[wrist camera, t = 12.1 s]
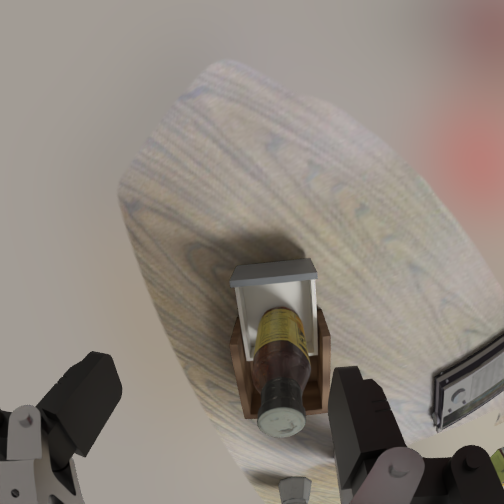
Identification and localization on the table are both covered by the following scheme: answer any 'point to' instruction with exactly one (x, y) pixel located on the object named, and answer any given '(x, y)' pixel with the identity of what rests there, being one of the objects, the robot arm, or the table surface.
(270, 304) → the tray
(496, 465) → the protein box
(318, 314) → the caddy
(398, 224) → the table surface
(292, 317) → the sauce bottle
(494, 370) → the radio
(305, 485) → the coffee maker
